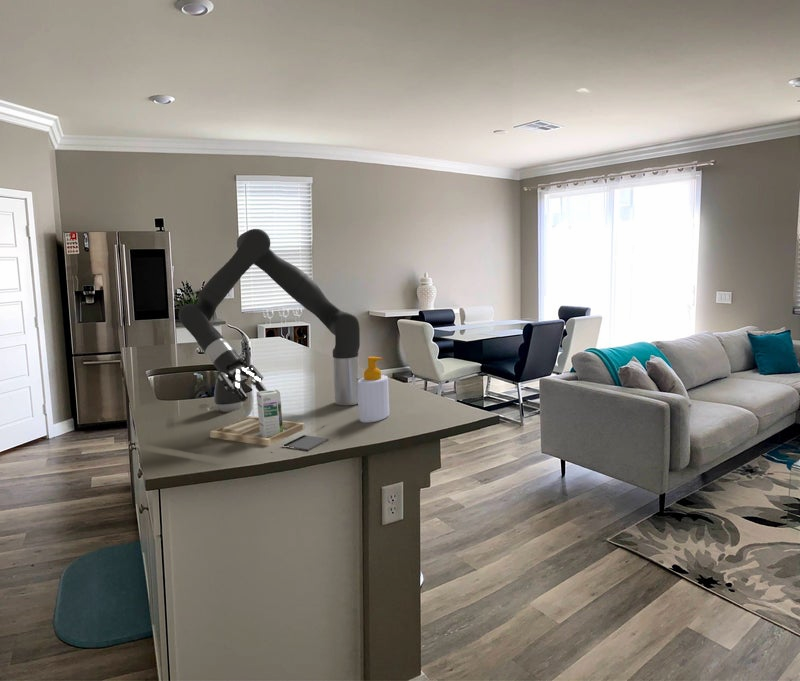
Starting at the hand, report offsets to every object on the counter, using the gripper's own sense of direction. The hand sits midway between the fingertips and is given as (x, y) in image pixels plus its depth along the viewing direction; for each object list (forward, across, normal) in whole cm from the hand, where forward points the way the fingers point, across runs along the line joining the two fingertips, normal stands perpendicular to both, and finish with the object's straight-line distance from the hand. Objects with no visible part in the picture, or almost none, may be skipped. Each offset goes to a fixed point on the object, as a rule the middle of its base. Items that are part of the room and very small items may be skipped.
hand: (255, 396), depth 173 cm
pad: (+21, 0, -3) cm, 21 cm away
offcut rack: (+9, 0, +9) cm, 13 cm away
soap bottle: (+25, +30, -7) cm, 40 cm away
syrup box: (+13, 0, +5) cm, 14 cm away
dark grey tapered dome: (-13, +20, +31) cm, 39 cm away
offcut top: (+4, 0, +12) cm, 12 cm away
